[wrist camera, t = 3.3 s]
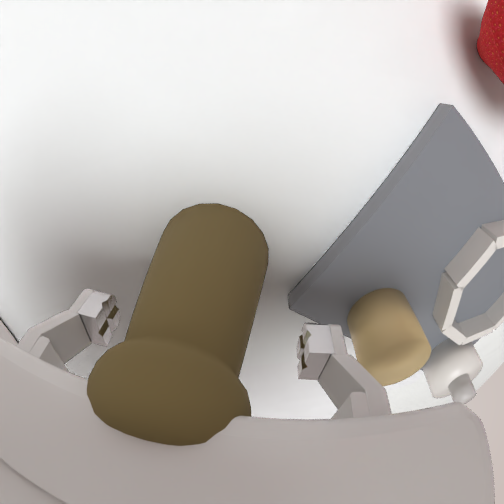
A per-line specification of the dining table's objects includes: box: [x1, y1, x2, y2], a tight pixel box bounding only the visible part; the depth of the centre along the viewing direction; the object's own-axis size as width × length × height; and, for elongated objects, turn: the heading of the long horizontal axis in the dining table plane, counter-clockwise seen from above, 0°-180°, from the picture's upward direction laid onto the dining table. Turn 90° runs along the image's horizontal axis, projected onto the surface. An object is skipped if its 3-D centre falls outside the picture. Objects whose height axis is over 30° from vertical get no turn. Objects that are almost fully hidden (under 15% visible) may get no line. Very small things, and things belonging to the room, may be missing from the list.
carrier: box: [288, 104, 504, 404], centre depth 12 cm, size 14×18×6 cm
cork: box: [87, 204, 268, 446], centre depth 10 cm, size 6×6×11 cm
